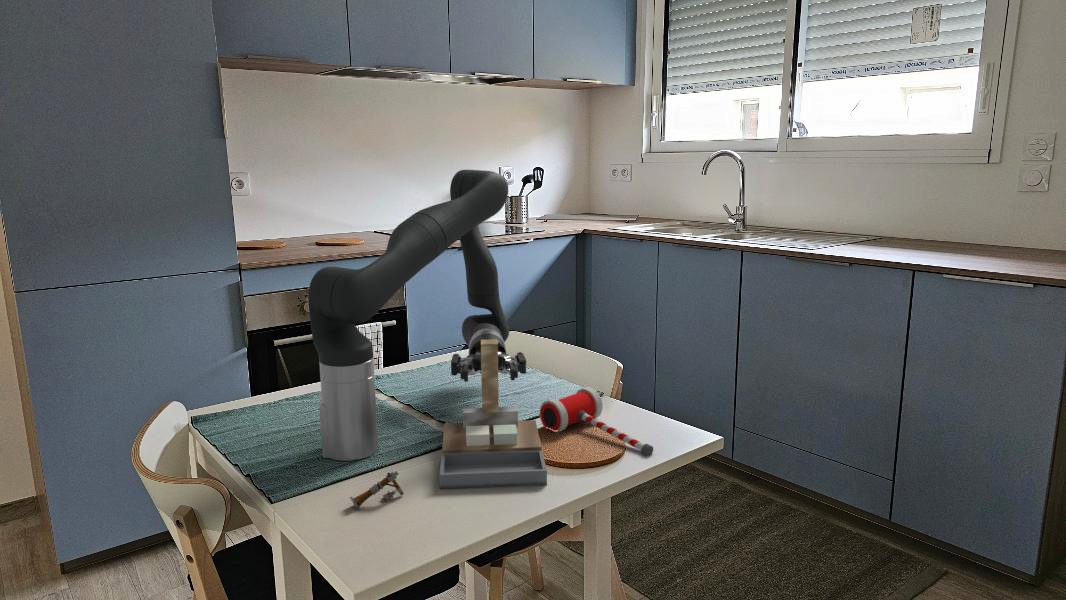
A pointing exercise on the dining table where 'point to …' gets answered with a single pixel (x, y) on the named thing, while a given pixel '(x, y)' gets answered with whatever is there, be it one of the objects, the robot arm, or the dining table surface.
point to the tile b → (504, 434)
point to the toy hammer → (582, 415)
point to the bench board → (490, 439)
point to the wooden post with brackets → (376, 488)
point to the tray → (492, 469)
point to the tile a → (477, 435)
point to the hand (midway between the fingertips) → (489, 376)
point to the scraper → (490, 393)
